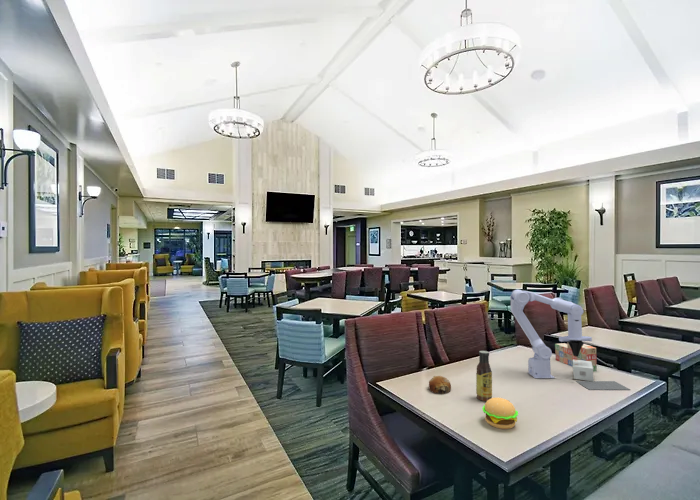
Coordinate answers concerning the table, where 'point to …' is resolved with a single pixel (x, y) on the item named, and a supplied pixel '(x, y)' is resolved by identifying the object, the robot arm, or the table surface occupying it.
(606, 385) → the mat
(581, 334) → the robot arm
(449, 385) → the bread roll
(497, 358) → the table surface
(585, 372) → the small box
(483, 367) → the sauce bottle
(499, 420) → the hamburger
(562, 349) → the stack of blocks
